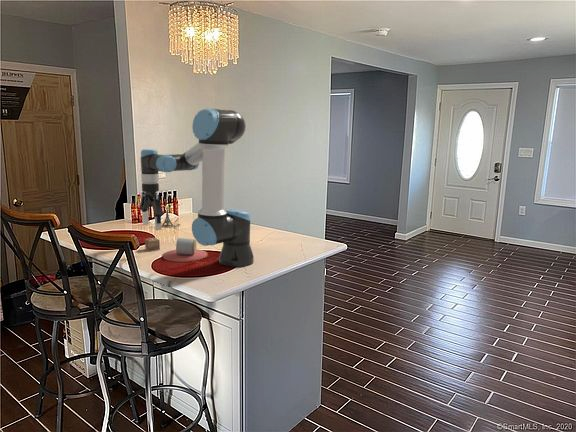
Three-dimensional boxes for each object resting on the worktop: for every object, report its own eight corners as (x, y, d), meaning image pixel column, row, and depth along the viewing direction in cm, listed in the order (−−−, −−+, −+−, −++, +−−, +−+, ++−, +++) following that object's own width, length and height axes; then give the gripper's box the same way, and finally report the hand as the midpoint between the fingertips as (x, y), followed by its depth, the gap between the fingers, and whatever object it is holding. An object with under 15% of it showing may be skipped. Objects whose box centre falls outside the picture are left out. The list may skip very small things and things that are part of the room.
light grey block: (194, 256, 197) (194, 239, 195) (175, 256, 196) (175, 239, 195) (198, 250, 207) (197, 235, 206) (180, 250, 207) (180, 234, 205)
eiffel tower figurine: (154, 229, 255) (153, 206, 252) (154, 225, 264) (153, 203, 262) (180, 228, 259) (180, 205, 257) (179, 224, 269) (179, 203, 266)
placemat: (215, 256, 199) (215, 255, 199) (175, 264, 186) (175, 263, 186) (193, 247, 214) (193, 246, 214) (154, 254, 201) (154, 253, 201)
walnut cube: (159, 249, 209) (159, 239, 208) (149, 251, 206) (149, 240, 205) (155, 247, 213) (154, 237, 212) (145, 249, 210) (144, 238, 209)
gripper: (170, 185, 197) (171, 231, 201) (146, 179, 215) (148, 222, 219) (154, 186, 192) (156, 233, 196) (131, 180, 210) (133, 223, 214)
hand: (151, 227), depth 207 cm, fingers open, 13 cm apart
